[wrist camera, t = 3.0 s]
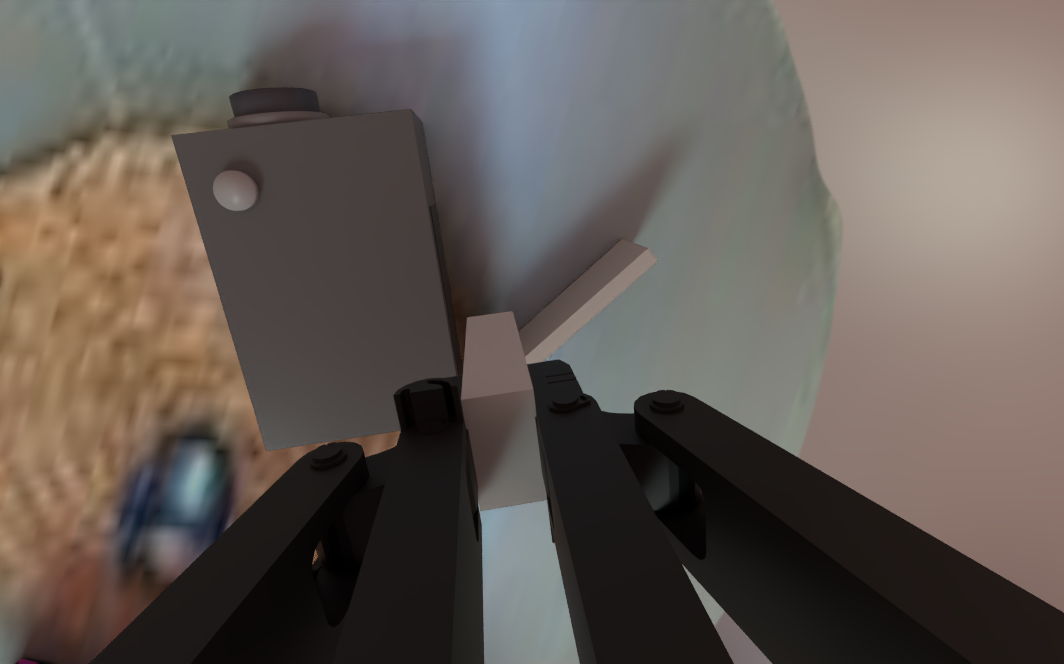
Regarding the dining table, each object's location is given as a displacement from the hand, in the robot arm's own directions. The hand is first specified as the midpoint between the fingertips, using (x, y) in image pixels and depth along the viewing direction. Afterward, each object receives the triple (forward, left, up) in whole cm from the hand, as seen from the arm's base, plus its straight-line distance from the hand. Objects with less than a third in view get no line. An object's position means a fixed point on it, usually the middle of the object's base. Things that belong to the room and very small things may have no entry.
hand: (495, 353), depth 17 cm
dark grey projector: (+1, +9, -19) cm, 21 cm away
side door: (-4, -4, -19) cm, 20 cm away
